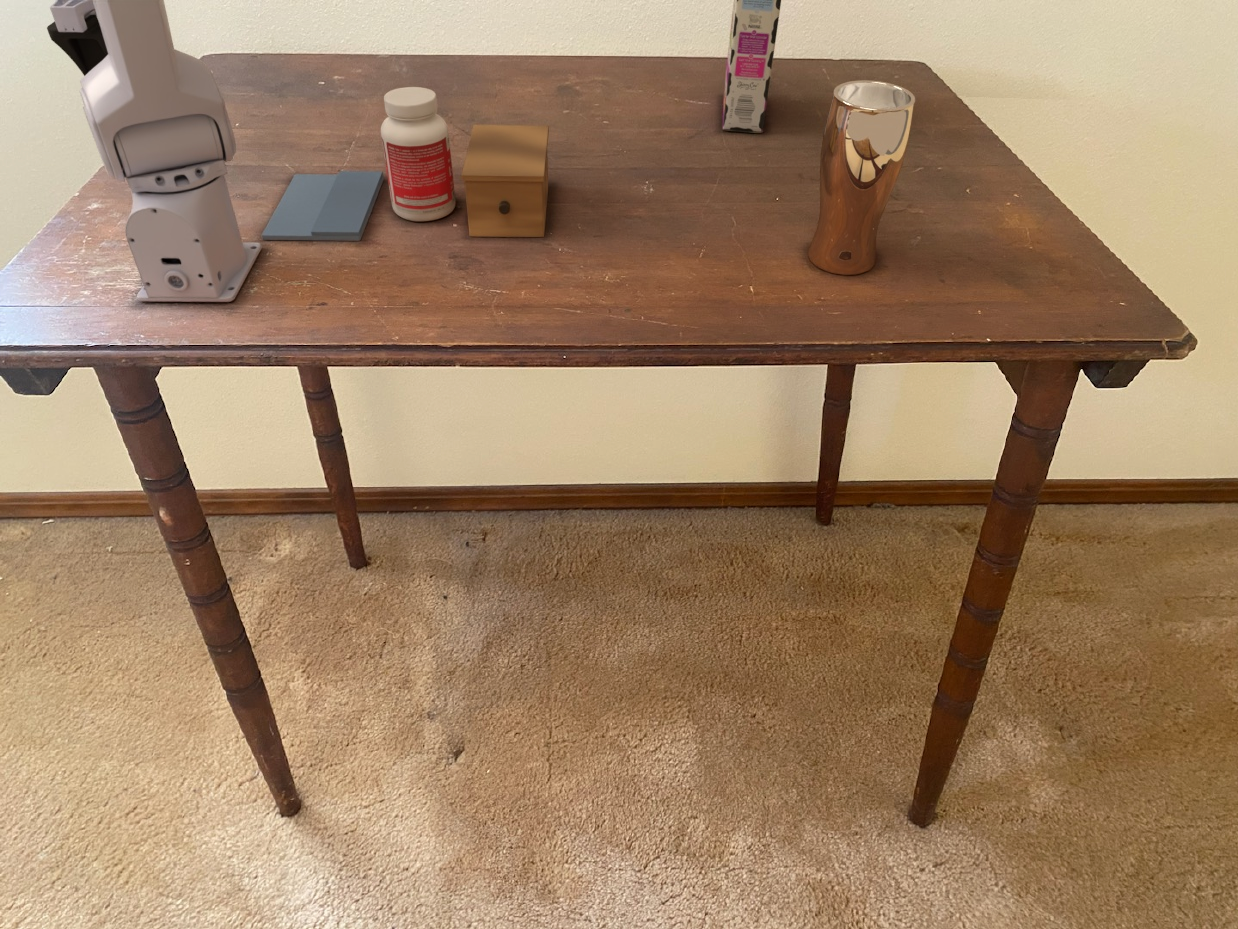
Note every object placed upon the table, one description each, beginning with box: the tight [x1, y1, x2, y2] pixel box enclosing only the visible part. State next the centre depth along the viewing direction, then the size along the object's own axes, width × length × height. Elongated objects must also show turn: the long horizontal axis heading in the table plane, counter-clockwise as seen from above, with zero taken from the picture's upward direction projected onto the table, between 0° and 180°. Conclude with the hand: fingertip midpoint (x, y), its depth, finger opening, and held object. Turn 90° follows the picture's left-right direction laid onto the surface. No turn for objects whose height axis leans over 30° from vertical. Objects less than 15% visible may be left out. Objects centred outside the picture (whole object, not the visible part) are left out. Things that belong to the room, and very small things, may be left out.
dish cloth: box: [261, 170, 385, 242], centre depth 91 cm, size 13×9×1 cm
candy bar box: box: [722, 0, 782, 134], centre depth 105 cm, size 11×5×16 cm, turn 175°
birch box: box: [460, 124, 550, 238], centre depth 89 cm, size 12×7×6 cm, turn 1°
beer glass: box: [807, 79, 916, 276], centre depth 81 cm, size 7×7×15 cm
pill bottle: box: [380, 86, 456, 222], centre depth 88 cm, size 6×6×11 cm
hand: (133, 90), depth 85 cm, fingers open, 7 cm apart
